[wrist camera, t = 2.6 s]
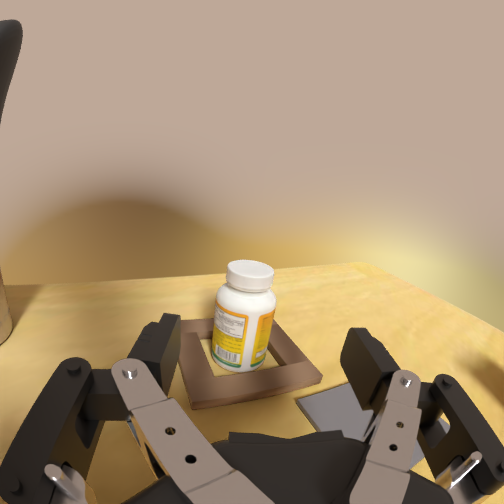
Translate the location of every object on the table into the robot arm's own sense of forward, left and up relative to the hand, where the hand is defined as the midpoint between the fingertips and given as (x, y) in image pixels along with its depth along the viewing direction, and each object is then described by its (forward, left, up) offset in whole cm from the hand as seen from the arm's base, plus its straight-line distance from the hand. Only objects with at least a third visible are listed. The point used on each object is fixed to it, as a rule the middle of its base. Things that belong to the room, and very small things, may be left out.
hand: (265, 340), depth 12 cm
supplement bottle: (+4, +11, -10) cm, 15 cm away
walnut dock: (+4, +11, -10) cm, 15 cm away
